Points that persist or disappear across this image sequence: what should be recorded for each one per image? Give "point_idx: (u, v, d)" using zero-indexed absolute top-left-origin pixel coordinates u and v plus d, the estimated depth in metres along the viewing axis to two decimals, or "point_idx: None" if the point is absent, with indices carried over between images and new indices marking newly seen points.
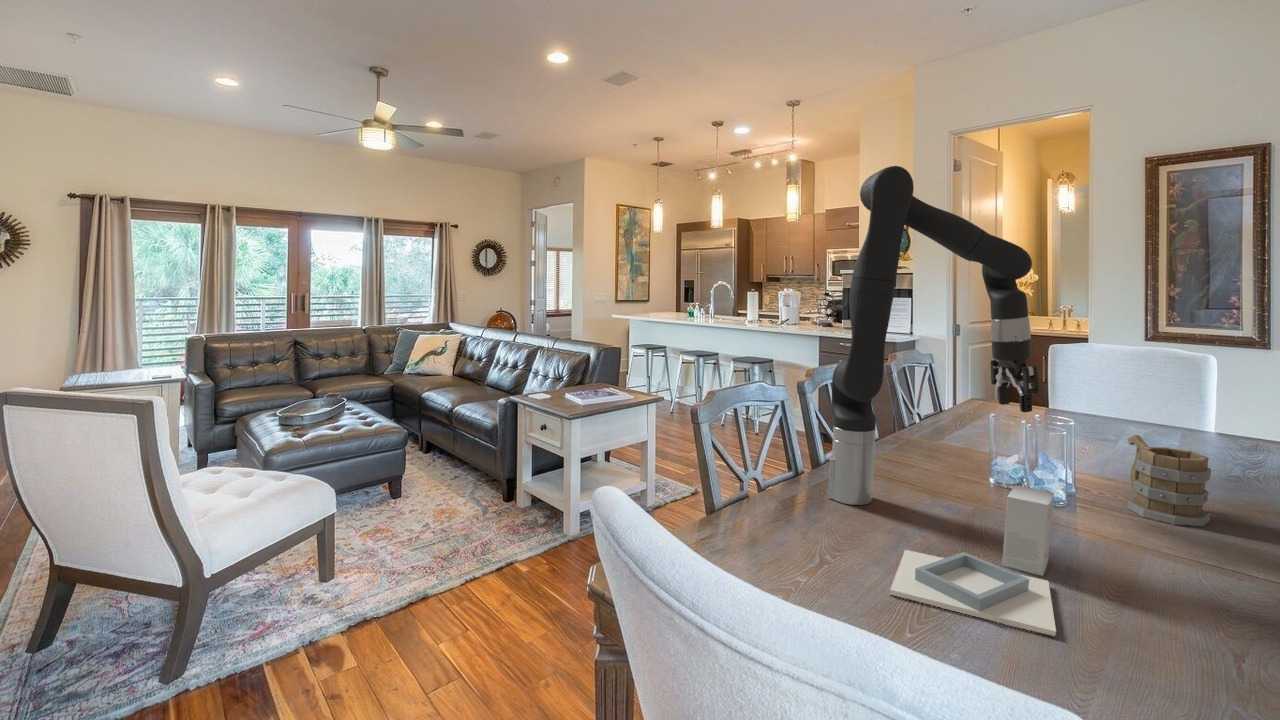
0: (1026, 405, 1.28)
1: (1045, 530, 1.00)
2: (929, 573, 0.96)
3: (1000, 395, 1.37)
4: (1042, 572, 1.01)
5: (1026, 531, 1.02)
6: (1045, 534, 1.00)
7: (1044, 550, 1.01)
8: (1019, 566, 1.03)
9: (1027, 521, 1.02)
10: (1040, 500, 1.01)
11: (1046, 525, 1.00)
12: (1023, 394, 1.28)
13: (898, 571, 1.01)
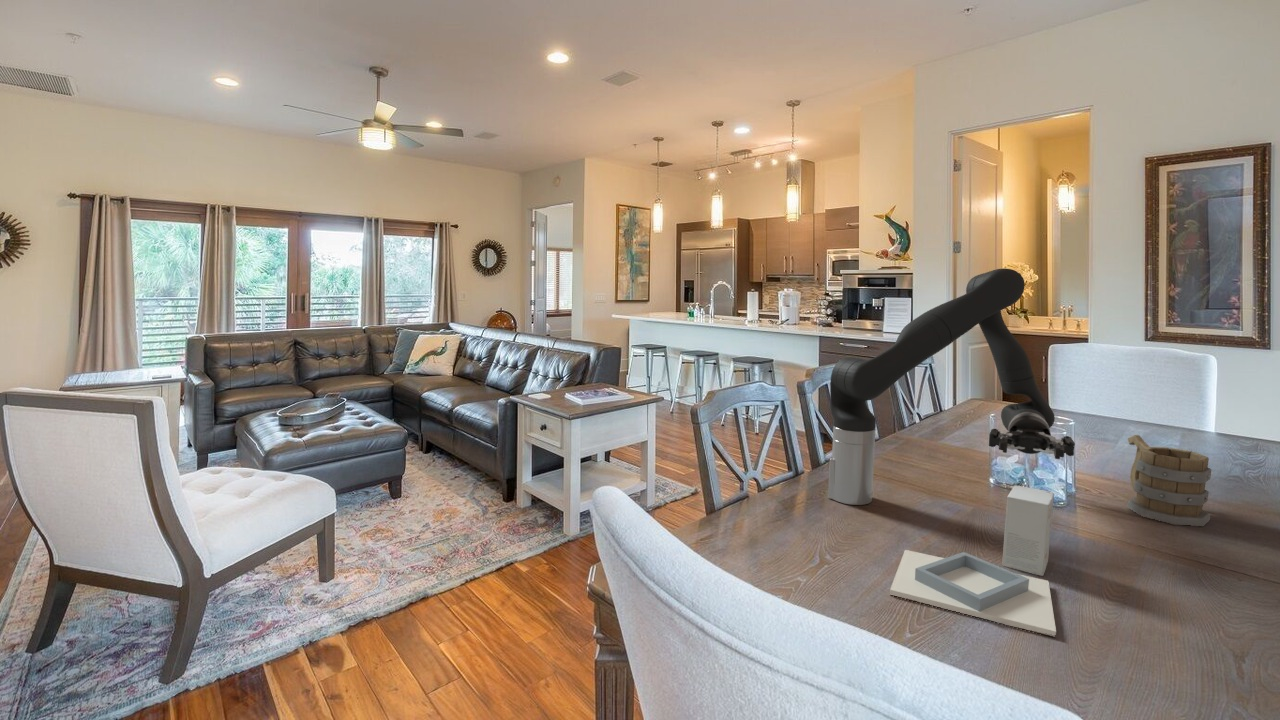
0: None
1: (1045, 530, 1.00)
2: (929, 573, 0.96)
3: (1007, 440, 1.17)
4: (1042, 572, 1.01)
5: (1026, 531, 1.02)
6: (1045, 534, 1.00)
7: (1044, 550, 1.01)
8: (1019, 566, 1.03)
9: (1027, 521, 1.02)
10: (1040, 500, 1.01)
11: (1046, 525, 1.00)
12: (1063, 444, 1.14)
13: (898, 571, 1.01)
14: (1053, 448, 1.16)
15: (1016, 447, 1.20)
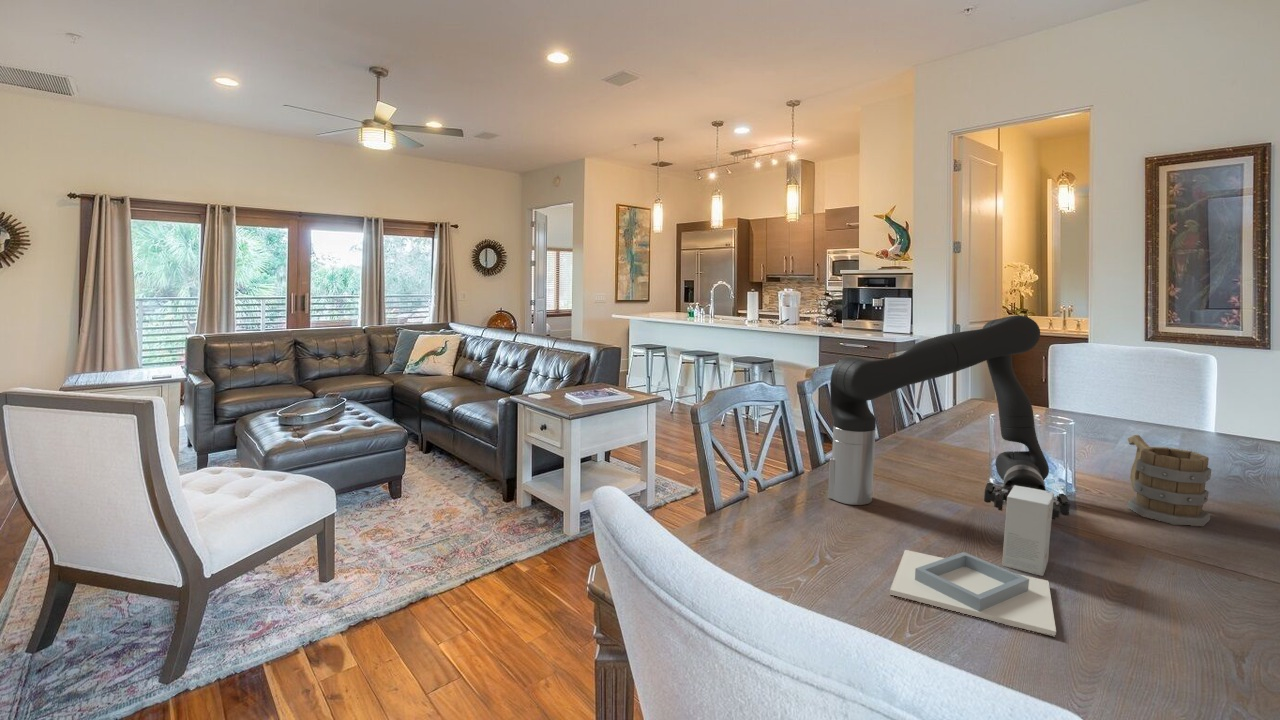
0: None
1: (1045, 530, 1.00)
2: (929, 573, 0.96)
3: (1002, 498, 1.16)
4: (1042, 572, 1.01)
5: (1026, 531, 1.02)
6: (1045, 534, 1.00)
7: (1044, 550, 1.01)
8: (1019, 566, 1.03)
9: (1027, 521, 1.02)
10: (1040, 500, 1.01)
11: (1046, 525, 1.00)
12: (1058, 503, 1.13)
13: (898, 571, 1.01)
14: None
15: None
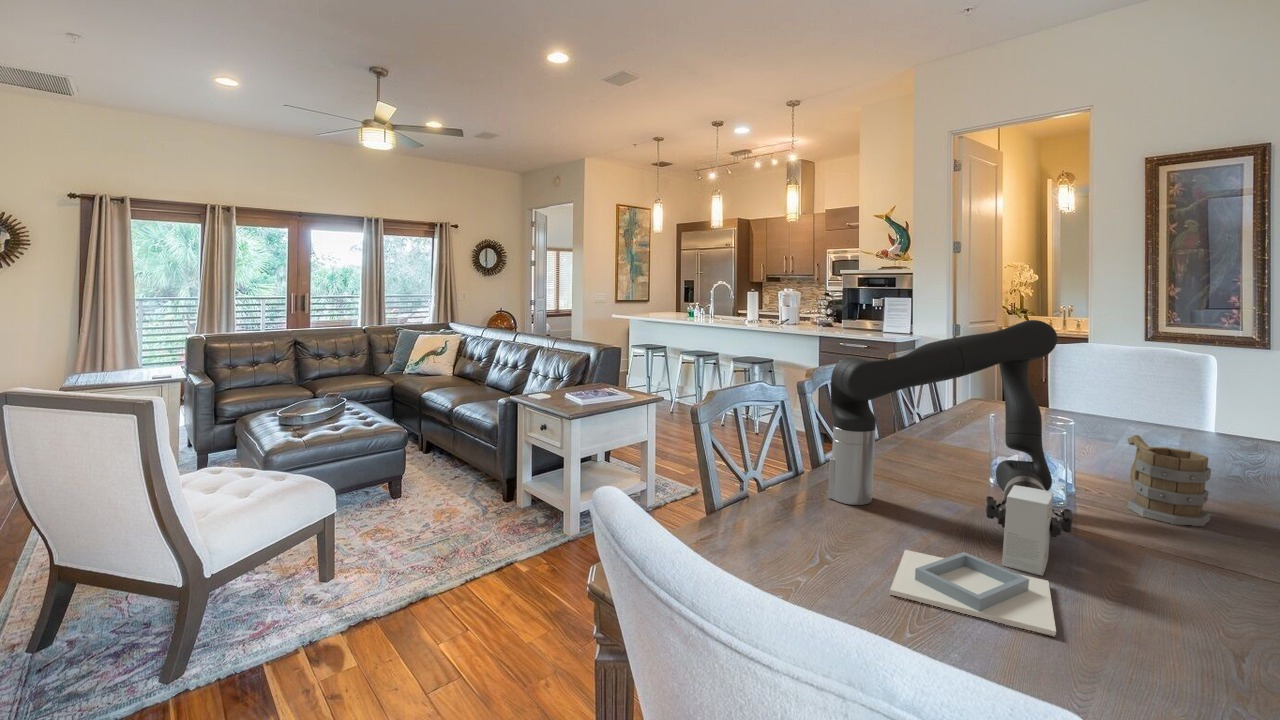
0: (1060, 527, 1.03)
1: (1045, 530, 1.00)
2: (929, 573, 0.96)
3: None
4: (1042, 572, 1.01)
5: (1025, 531, 1.02)
6: (1045, 534, 1.00)
7: (1044, 550, 1.01)
8: (1019, 565, 1.03)
9: (1027, 521, 1.02)
10: (1040, 500, 1.01)
11: (1046, 525, 1.00)
12: (1059, 519, 1.05)
13: (898, 571, 1.01)
14: None
15: None
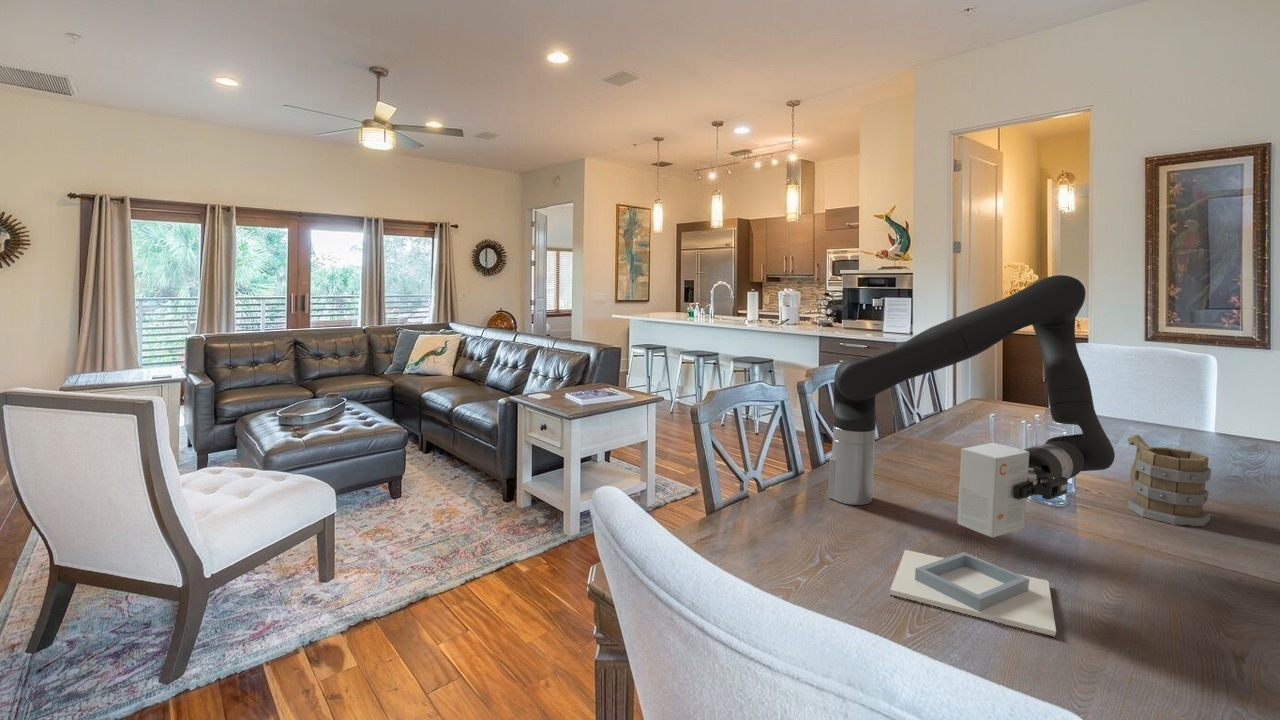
0: (1028, 489, 0.92)
1: (994, 486, 0.91)
2: (929, 573, 0.96)
3: None
4: (992, 533, 0.92)
5: (977, 487, 0.93)
6: (994, 491, 0.91)
7: (994, 509, 0.91)
8: (972, 525, 0.95)
9: (978, 476, 0.93)
10: (995, 454, 0.92)
11: (995, 481, 0.91)
12: (1036, 483, 0.93)
13: (898, 571, 1.01)
14: None
15: None
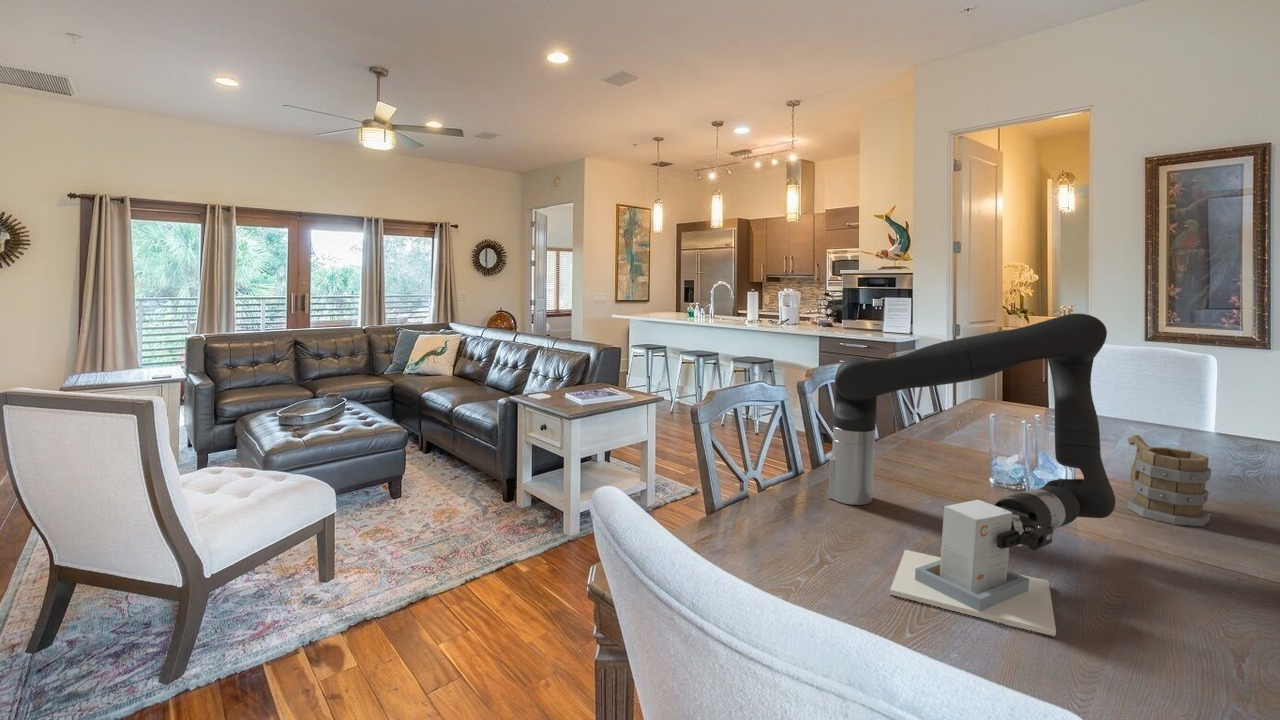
0: (1012, 539, 0.91)
1: (974, 547, 0.91)
2: (929, 573, 0.96)
3: None
4: None
5: (958, 546, 0.94)
6: (974, 552, 0.91)
7: (973, 569, 0.91)
8: None
9: (960, 535, 0.93)
10: (976, 515, 0.92)
11: (975, 542, 0.91)
12: (1022, 533, 0.92)
13: (898, 571, 1.01)
14: None
15: None
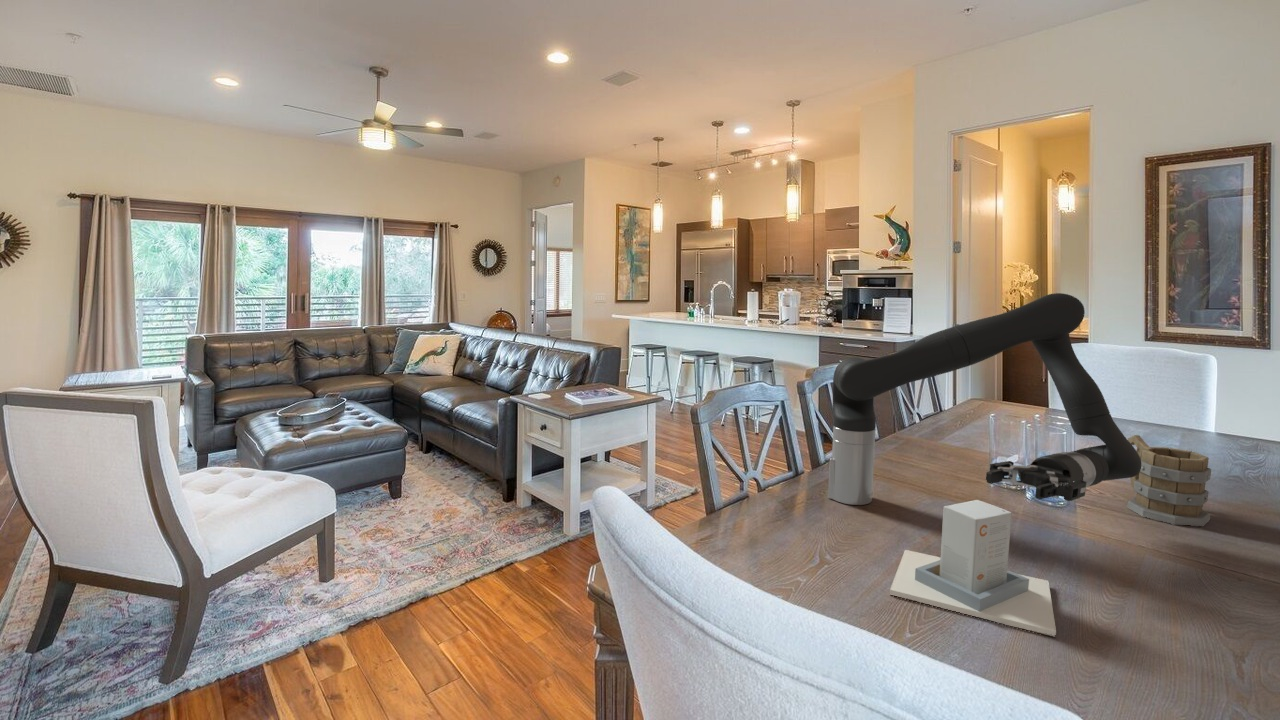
0: (1049, 490, 1.00)
1: (973, 547, 0.91)
2: (929, 573, 0.96)
3: (998, 472, 1.08)
4: None
5: (958, 546, 0.94)
6: (974, 552, 0.91)
7: (973, 569, 0.92)
8: None
9: (959, 535, 0.93)
10: (975, 514, 0.92)
11: (975, 542, 0.91)
12: (1058, 485, 1.01)
13: (898, 571, 1.01)
14: None
15: (1020, 483, 1.09)
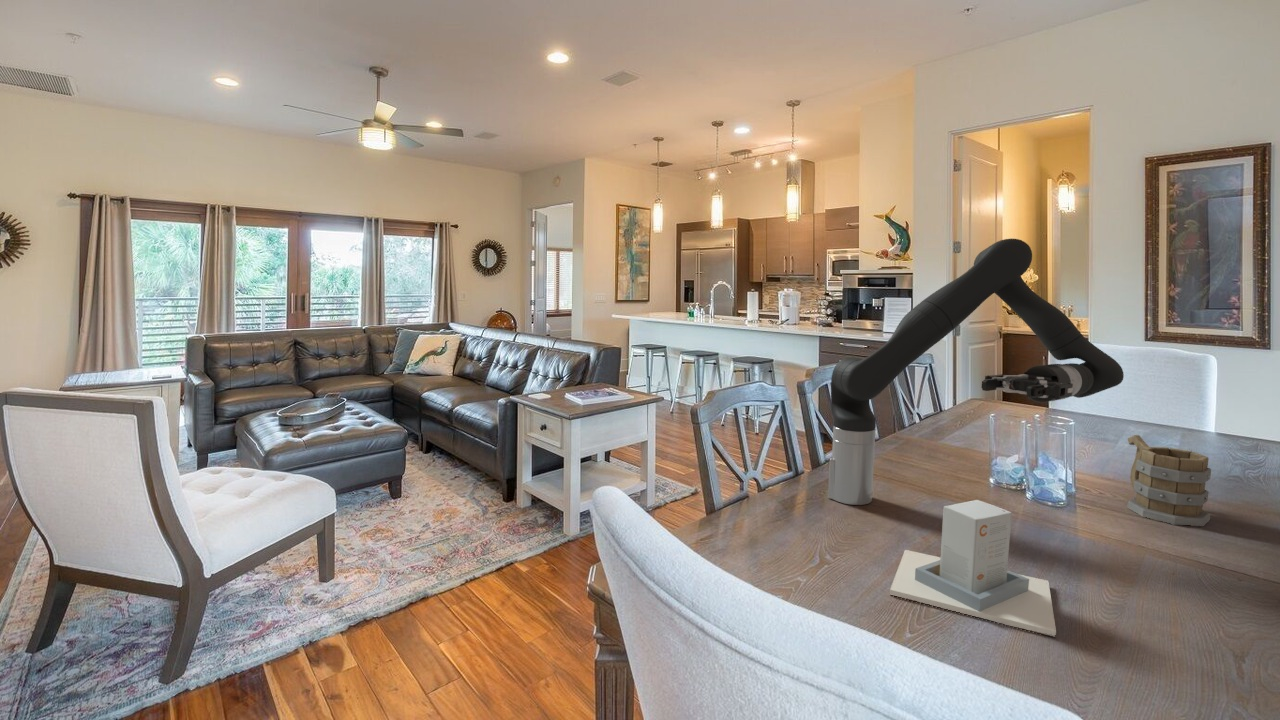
0: (1039, 389, 1.10)
1: (973, 547, 0.91)
2: (929, 573, 0.96)
3: (992, 380, 1.18)
4: None
5: (958, 546, 0.94)
6: (974, 552, 0.91)
7: (973, 569, 0.92)
8: None
9: (959, 535, 0.93)
10: (975, 515, 0.92)
11: (975, 542, 0.91)
12: (1047, 386, 1.11)
13: (898, 571, 1.01)
14: None
15: (1013, 391, 1.19)
